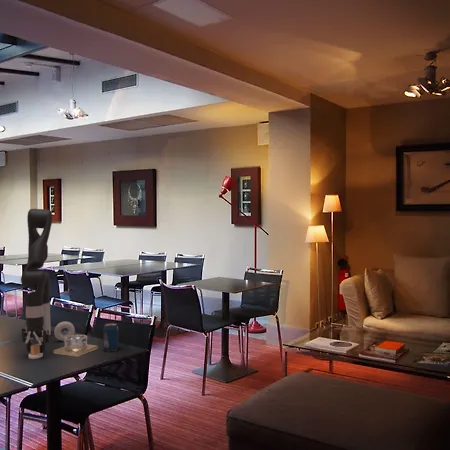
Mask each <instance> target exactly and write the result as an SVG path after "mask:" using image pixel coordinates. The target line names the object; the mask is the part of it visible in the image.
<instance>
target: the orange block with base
mask: <svg viewBox="0 0 450 450" xmlns="http://www.w3.org/2000/svg"><path fill="white" fill-rule="evenodd" d="M39 345H40V344H39V343H35V344H32V346H31V351H30V353H28V359H29V360H30V359H31V360H35V359H41V358H43V356H44V355H43V354H44V353H40V348H39Z"/></svg>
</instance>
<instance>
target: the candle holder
mask: <svg viewBox="0 0 450 450" xmlns="http://www.w3.org/2000/svg"><path fill="white" fill-rule="evenodd" d="M63 342H64V346H61V347H59V348H55V349H53V354H54V355H62V356H70V357H78V358H79V357H81V356H83V355H86V354H88V353H90V352H93V351H96V350H98V349H99V346H98V345H96V344H95V345H94V344H88V335H86V334H74V335H71V336H67V337H65V338H64V341H63Z"/></svg>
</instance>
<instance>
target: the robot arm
mask: <svg viewBox="0 0 450 450" xmlns="http://www.w3.org/2000/svg"><path fill="white" fill-rule="evenodd" d="M26 223H27V230H28V231H27V232H28V233H27V234H28V244H27V246H28V248H27V249H28V251H27V253H28V255H27V256H28V257H27V263H26V265H25V268H24V270H23V271H22V274H21V277H20V283H21V285H22V286H23V287H25V288H28V289H29V290H30V291H31V292H28V293H26V294H25V295H26V296H25V326H26V327H23V328H21V338H22V339H21V340H22V342H23V343H25V347H26V352H27V353H29V352H30V353H31V346H32V345H33V343H32V341H33V339H35V340H36V342H38V344H40V345H39V348H40V353H43V354H44V353H45V352H46V351H45V350H46V344H48V343H49V340H50V336H51V334H52V333H51V332H52V331H51V326H52V325H51V300H50V299H51V297H50V288H51V286H50V285H51V275H50V273H49V272H47V271H46V272H45V271H42V270H39V269H42V268H43V267H44V264H45V262H46V261H47V259H48V255H49V253H48V252H49V246H48V241H49V237H50V232H51V228H52V226H53V225H52V224H53V213H52V210H50V209H46V208H45V209H42V208H30V209H29V210H28V211H27V222H26ZM38 229H42V232H41V234H40V233H39V232H38Z"/></svg>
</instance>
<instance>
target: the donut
mask: <svg viewBox="0 0 450 450" xmlns="http://www.w3.org/2000/svg"><path fill="white" fill-rule="evenodd" d="M63 329H66V330H67V333H65V334H63V333H62V331H63ZM75 331H76V330H75V326H74V324H73V323H72V322H70V321H61V322H59V323H57V325H56V326H55V327H54V331H53V334H54V337H55V338H56V339H57V340H58V341H61V342H64V338H65V337H67V336H71V335H75V333H76V332H75Z"/></svg>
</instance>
